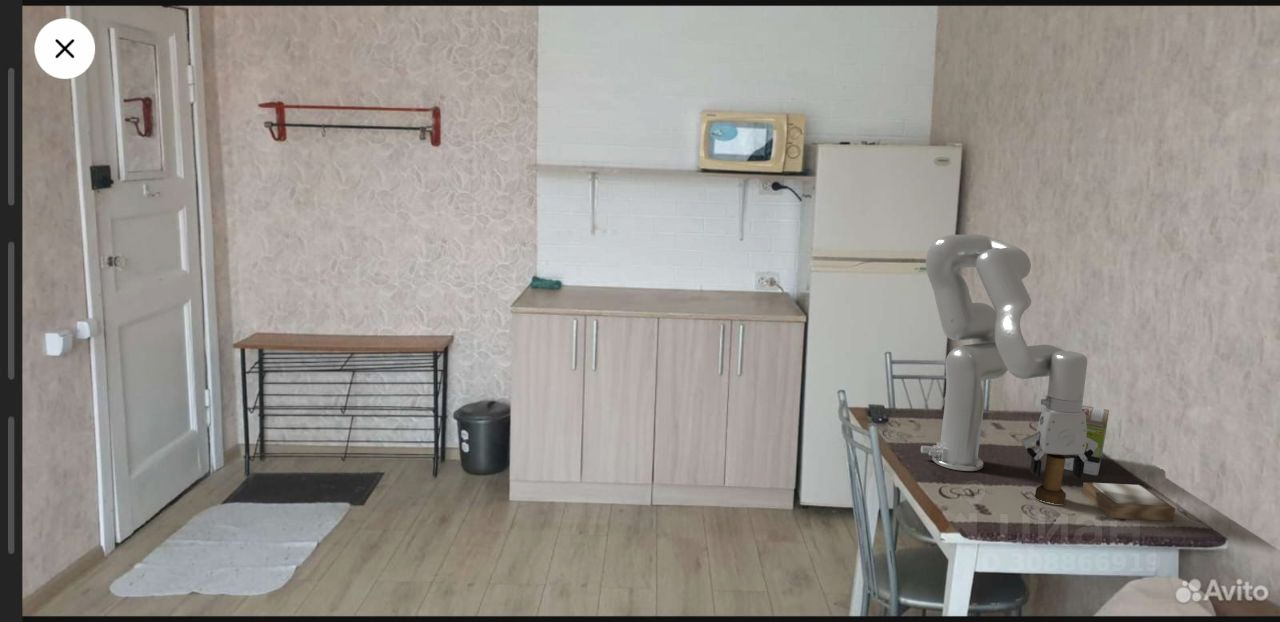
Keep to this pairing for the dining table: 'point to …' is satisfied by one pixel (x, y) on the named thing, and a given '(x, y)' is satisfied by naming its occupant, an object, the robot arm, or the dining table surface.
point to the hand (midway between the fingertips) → (1056, 475)
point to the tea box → (1095, 432)
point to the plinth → (1128, 501)
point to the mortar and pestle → (1052, 480)
